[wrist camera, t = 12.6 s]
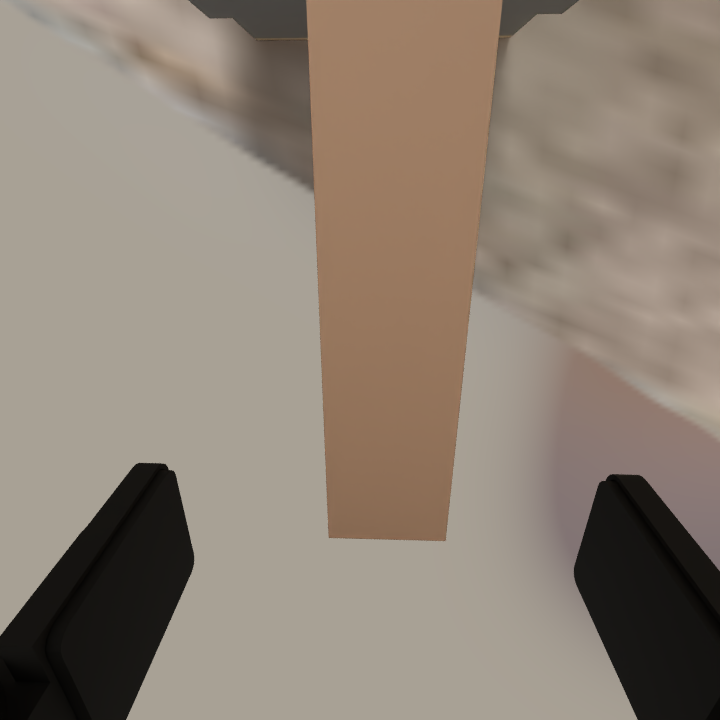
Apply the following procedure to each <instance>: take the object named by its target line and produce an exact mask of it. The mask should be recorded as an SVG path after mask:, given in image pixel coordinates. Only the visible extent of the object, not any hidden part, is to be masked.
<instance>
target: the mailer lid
mask: <svg viewBox="0 0 720 720" xmlns="http://www.w3.org/2000/svg"><path fill="white" fill-rule="evenodd" d="M189 1H190V2H191V3H192V4H193V5H195V6H196V7H197V8H198V9H199V10H200V11H202V12H203V13H204V14H205V15H206V16H207V17H209V18H275V17H307V29H308V53H309V77H310V101H311V125H312V149H313V173H314V197H315V219H316V244H317V268H318V290H319V316H320V340H321V363H322V388H323V411H324V435H325V459H326V484H327V506H328V529H329V538H352V539H353V538H354V539H391V540H392V539H393V540H427V541H445V540H446V531H447V522H448V511H449V503H450V493H451V484H452V475H453V465H454V456H455V446H456V437H457V428H458V418H459V408H460V399H461V390H462V389H461V388H462V380H463V371H464V361H465V352H466V342H467V333H468V322H469V314H470V304H471V295H472V285H473V276H474V266H475V257H476V247H477V238H478V229H479V219H480V210H481V200H482V191H483V181H484V172H485V162H486V153H487V143H488V134H489V124H490V115H491V105H492V96H493V86H494V77H495V67H496V58H497V48H498V39H499V30H500V20H501V15H502V14H562V13H564V12H565V11H566V10H567V9H569V8H570V7H571V6H572V5H574V4H575V3H576V2H577V1H579V0H189Z"/></svg>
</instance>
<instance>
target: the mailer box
mask: <svg viewBox="0 0 720 720" xmlns="http://www.w3.org/2000/svg"><path fill="white" fill-rule="evenodd" d="M535 15H536V14H502V15H501V20H500V30H499V38H502V37H511V36H512V35H514V34H515V33H516V32H517V31H518V30H519V29H520V28H522V27H523V26H524V25H525V24H526V23H527V22H528V21H530V20H531V19H532V18H533V17H534V16H535ZM233 19H234V20H235V21H236V22H237V23H238V24H239V25H241V26H242V27H243V28H244V29H245V30H246V31H247V32H248V33H249V34H250V35H251V36H252V37H253V38H255V39H256V40H308V29H307V17H275V18H233Z"/></svg>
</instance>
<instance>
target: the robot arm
mask: <svg viewBox="0 0 720 720" xmlns="http://www.w3.org/2000/svg"><path fill="white" fill-rule="evenodd" d="M193 565H194V553H193V548H192V544H191V540H190V535H189V531H188V526H187V522H186V518H185V513H184V510H183V505H182V500H181V496H180V492H179V488H178V483H177V478H176V475H175V472H174V471H172V470H168V467H167V466H166V464H161V463H160V464H159V463H138V464H136V465H135V466H134V467H133V468H132V469H131V470H130V472H129V473H128V474H127V476H126V477H125V478H124V480H123V481H122V482H121V483H120V485H119V486H118V487H117V488H116V490H115V491H114V493H113V494H112V495H111V496H110V498H109V499H108V500H107V501H106V503H105V504H104V505H103V507H102V508H101V509H100V510H99V512H98V513H97V514H96V516H95V517H94V518H93V519H92V521H91V522H90V523H89V525H88V526H87V527H86V528H85V529H84V530H83V531H82V532H81V533H80V534H79V536H78V537H77V538H76V540H75V541H74V542H73V544H72V545H71V546H70V547H69V549H68V550H67V551H66V553H65V554H64V555H63V556H62V558H61V559H60V560H59V562H58V563H57V564H56V565H55V567H54V568H53V569H52V570H51V572H50V573H49V574H48V576H47V577H46V578H45V579H44V581H43V582H42V583H41V584H40V586H39V587H38V588H37V590H36V591H35V592H34V593H33V595H32V596H31V597H30V599H29V600H28V601H27V602H26V604H25V605H24V606H23V607H22V609H21V610H20V611H19V613H18V614H17V615H16V617H15V618H14V619H13V620H12V622H11V623H10V624H9V625H8V627H7V628H6V629H5V631H4V632H3V633H2V634H1V636H0V720H126V719H127V716H128V714H129V712H130V710H131V708H132V705H133V703H134V701H135V698H136V696H137V694H138V691H139V690H140V687H141V685H142V683H143V680H144V678H145V676H146V674H147V671H148V669H149V667H150V665H151V663H152V660H153V658H154V656H155V654H156V651H157V649H158V647H159V645H160V642H161V640H162V638H163V636H164V633H165V631H166V629H167V626H168V624H169V622H170V620H171V618H172V615H173V613H174V611H175V609H176V606H177V604H178V602H179V600H180V597H181V595H182V593H183V590H184V588H185V586H186V583H187V581H188V579H189V577H190V575H191V572H192V569H193ZM574 578H575V582H576V585H577V587H578V589H579V592H580V594H581V596H582V598H583V600H584V602H585V605H586V607H587V609H588V611H589V614H590V616H591V618H592V620H593V622H594V624H595V627H596V629H597V631H598V633H599V636H600V638H601V640H602V642H603V644H604V647H605V649H606V651H607V653H608V655H609V658H610V660H611V662H612V664H613V666H614V668H615V671H616V673H617V675H618V677H619V679H620V682H621V684H622V686H623V688H624V690H625V692H626V695H627V697H628V699H629V701H630V704H631V706H632V708H633V710H634V712H635V715H636V717H637V719H638V720H720V571H719V570H718V569H717V567H716V566H715V565H714V564H713V562H712V561H711V560H710V559H709V557H708V556H707V555H706V554H705V553H704V551H703V550H702V549H701V548H700V546H699V545H698V544H697V543H696V541H695V540H694V539H693V538H692V537H691V535H690V534H689V533H688V532H687V530H686V529H685V528H684V527H683V525H682V524H681V523H680V522H679V521H678V519H677V518H676V517H675V516H674V514H673V513H672V512H671V511H670V509H669V508H668V507H667V506H666V504H665V503H664V502H663V501H662V500H661V498H660V497H659V496H658V495H657V494H656V492H655V491H654V490H653V488H652V487H651V486H650V485H649V484H648V482H647V481H646V480H645V479H644V478H643V477H642V476H640V475H619V474H612V475H609V476H608V477H607V479H606V481H602V482H600V483H599V486H598V488H597V492H596V495H595V498H594V502H593V505H592V509H591V512H590V515H589V519H588V522H587V525H586V529H585V532H584V536H583V539H582V542H581V546H580V549H579V552H578V556H577V559H576V563H575V566H574Z"/></svg>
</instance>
